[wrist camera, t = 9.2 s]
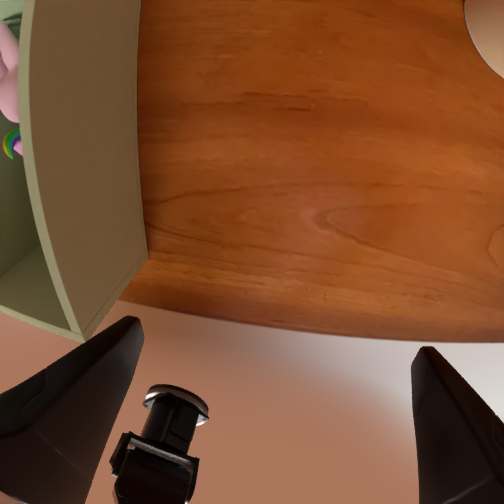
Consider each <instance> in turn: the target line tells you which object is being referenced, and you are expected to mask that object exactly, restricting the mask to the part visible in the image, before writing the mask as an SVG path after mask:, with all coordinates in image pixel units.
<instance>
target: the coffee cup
mask: <svg viewBox="0 0 504 504" xmlns="http://www.w3.org/2000/svg"><path fill="white" fill-rule="evenodd" d="M464 14H465V20H466V25H467V28H468V31H469V34H470V36H471V38H472V41H473V43H474V45H475V47H476V48H477V50H478V52H479V53H480V55H481V56H482V58H483V59H484V60H485V61H486V63H487V64H488V65H489V66H490V67H491V68H492V69H493V70H494V71H495V72H496V73H497V74H499V75H500V76H502V77H503V78H504V0H465V3H464Z"/></svg>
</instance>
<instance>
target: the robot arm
mask: <svg viewBox="0 0 504 504" xmlns="http://www.w3.org/2000/svg"><path fill="white" fill-rule="evenodd" d="M143 343H144V333H143V330H142V326H141V322H140V319H139V318H138V317H134V316H125V317H123V318H122V319H120V320H119V321H117V322H116V323H114V324H112V325H111V326H109V327H108V328H107V329H105V330H103V331H102V332H100V333H98V334H97V335H95V336H94V337H92V338H91V339H89V340H88V341H86V342H85V343H83V344H81V345H80V346H78V347H77V348H75V349H74V350H72V351H71V352H69V353H68V354H66V355H65V356H63V357H61V358H60V359H58V360H57V361H55V362H54V363H52V364H51V365H49V366H48V367H47V368H46V369H43V370H41V371H40V372H38V373H37V374H35V375H34V376H32V377H30V378H29V379H27V380H26V381H24V382H22V383H20V384H18V385H17V386H15V387H13V388H11V389H9V390H7V391H5V392H3V393H2V394H0V504H85V501H86V498H87V495H88V492H89V490H90V487H91V484H92V480H93V478H94V475H95V472H96V469H97V467H98V464H99V461H100V459H101V456H102V453H103V451H104V448H105V445H106V443H107V440H108V438H109V435H110V433H111V430H112V427H113V425H114V423H115V420H116V418H117V415H118V413H119V410H120V408H121V405H122V403H123V401H124V398H125V396H126V393H127V391H128V389H129V386H130V384H131V381H132V378H133V375H134V372H135V368H136V365H137V362H138V359H139V355H140V352H141V349H142V346H143ZM411 381H412V407H413V417H414V426H415V436H416V446H417V459H418V476H419V504H504V423H503V422H502V421H501V420H500V418H499V417H498V416H497V415H495V413H494V412H493V410H492V409H491V408H490V407H489V406H488V405H487V404H486V403H485V401H484V400H483V399H482V398H481V397H480V396H479V395H478V394H477V392H476V391H475V390H474V389H473V388H472V387H471V386H470V385H469V384H468V383H467V381H466V380H465V379H464V378H463V377H462V376H461V375H460V374H459V373H458V372H457V371H456V370H455V369H454V368H453V367H452V365H450V363H449V362H448V361H447V360H446V359H445V358H444V357H443V356H442V355H441V354H440V353H439V352H438V351H437V350H436V349H435V348H434V347H432V346H423V347H422V348H420V350H419V352H418V353H417V355H416V357H415V359H414V360H413V362H412V365H411ZM143 406H144V407H146V408H147V409H149V410H150V413H149V415H148V418H147V420H146V423H145V425H144V428H143V430H142V433H141V435H140V436H138V435H136V434H133V432H131V431H129V433H122V436H121V438H120V440H119V442H118V445H117V447H116V449H115V451H114V453H113V455H112V457H111V459H110V461H109V462H110V464H111V466H112V474H111V476H113V477H115V478H117V479H116V482H115V485H114V489H113V497H114V501H115V504H188V502H189V501H190V500H191V498H192V495H193V492H194V489H195V484H196V478H197V472H198V466H199V460H200V459H199V458H196V457H195V458H194V457H191V456H188V455H187V453H188V449H189V446H190V442H191V441H192V438H193V435H194V431H195V428H196V425H197V424H199V423H203V422H206V421H208V419H209V417H208V416H207V415H205V414H203V413H202V412H200V411H198V410H197V409H195V408H194V407H192V406H190V405H189V404H187V403H186V402H184V401H183V400H181V399H180V398H178V397H177V396H175V395H174V394H172V393H170V392H166V393H163V394H161V395H158V396H156V397H154V398H151V399H149V400H146V401H144V402H143ZM129 447H130V448H132V449H128V448H129ZM133 449H134V450H133Z"/></svg>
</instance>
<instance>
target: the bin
mask: <svg viewBox="0 0 504 504" xmlns="http://www.w3.org/2000/svg"><path fill="white" fill-rule="evenodd" d="M140 10H141V0H0V22H1V21H5V22H6V24H7V26H8V27H9V29H10V30H11V32H12V33H13V35H14V36H15V37H16V38H17V40H18V41H19V57H18V106H19V123H16V122H12V121H10V120H9V119H7V118H6V117H5V116H4V114H3V113H2V111H1V110H0V311H1V312H3V313H5V314H8V315H10V316H12V317H14V318H17V319H19V320H22V321H24V322H27V323H29V324H31V325H34V326H37V327H39V328H42V329H44V330H47V331H50V332H52V333H55V334H58V335H61V336H63V337H66V338H70V339H72V340H75V341H78V342H81V343H85V342H86V341H88V340H89V339H90V337H91V336H92V335H93V333H94V332H95V330H96V329H97V327H98V326H99V324H100V323H101V322H102V320H103V319H104V317H105V316H106V315H107V313H108V312H109V310H110V309H111V307H112V306H113V305H114V303H115V302H116V301H117V299H118V298H119V297H120V295H121V294H122V292H123V291H124V290H125V288H126V287H127V286H128V284H129V283H130V282H131V280H132V279H133V278H134V276H135V275H136V274H137V272H138V271H139V270H140V269H141V267H142V266H143V265H144V263H145V262H146V261H147V260H148V258H149V257H148V250H147V242H146V234H145V226H144V217H143V207H142V196H141V185H140V171H139V155H138V132H137V58H138V37H139V22H140ZM0 53H1V51H0ZM1 55H2V54H1ZM16 129H20V134H21V144H22V153H23V156H22V155H21V154H20V153H18V152H17V151H16V150H14V149H13V159H11V158H10V157H9V156H8V155H7V154H6V153H5V151H4V149H3V140H4V138H5V136H6V135H7V134H8V133H9V132H10V131H13V130H16Z"/></svg>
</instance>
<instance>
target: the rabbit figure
mask: <svg viewBox="0 0 504 504" xmlns="http://www.w3.org/2000/svg"><path fill="white" fill-rule="evenodd" d="M0 51H1V53H0V110H1V111H2V113H3V114H4V116H5V117H6V118H7V119H9V120H10V121H12V122H16V123H19V106H18V57H19V41H18V40H17V38H16V37H15V36H14V35H13V33H12V32H11V30H10V29H9V27H8V26H7V24H6V22H5V21H1V22H0ZM1 54H2V55H1ZM3 149H4V151H5V153H6V154H7V155H8V156H9V157H10V158H11V159H13V149H14V150H16V151H17V152H18V153H20V154H21V155H22V156H23V153H22V144H21V134H20V129H16V130H13V131H10V132H9V133H8V134H7V135H6V136H5V138H4V140H3Z"/></svg>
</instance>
